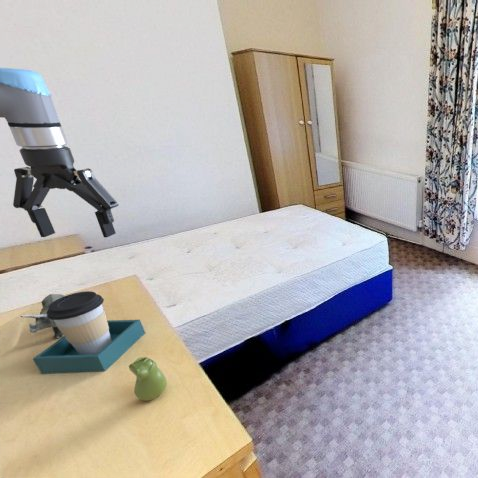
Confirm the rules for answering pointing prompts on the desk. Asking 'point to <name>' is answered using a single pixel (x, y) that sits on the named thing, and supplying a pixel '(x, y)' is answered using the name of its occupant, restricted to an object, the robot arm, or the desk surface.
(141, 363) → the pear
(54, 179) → the robot arm
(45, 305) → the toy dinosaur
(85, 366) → the tray
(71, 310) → the coffee cup
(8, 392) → the desk surface
